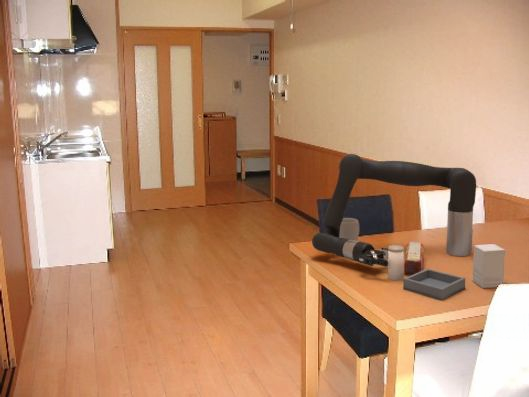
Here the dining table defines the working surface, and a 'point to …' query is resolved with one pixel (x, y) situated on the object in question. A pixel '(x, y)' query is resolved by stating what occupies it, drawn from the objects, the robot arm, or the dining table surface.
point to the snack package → (413, 258)
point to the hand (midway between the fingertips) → (395, 260)
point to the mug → (349, 229)
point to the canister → (395, 262)
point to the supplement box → (488, 265)
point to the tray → (434, 284)
